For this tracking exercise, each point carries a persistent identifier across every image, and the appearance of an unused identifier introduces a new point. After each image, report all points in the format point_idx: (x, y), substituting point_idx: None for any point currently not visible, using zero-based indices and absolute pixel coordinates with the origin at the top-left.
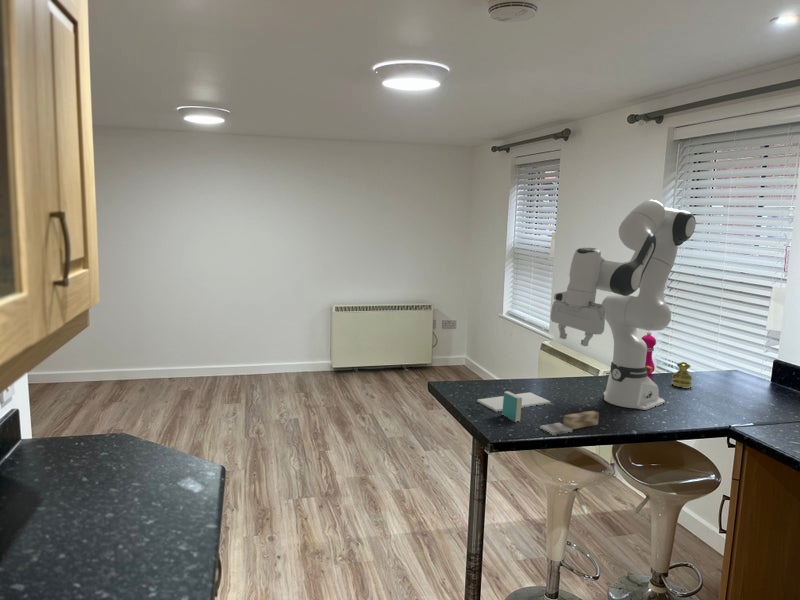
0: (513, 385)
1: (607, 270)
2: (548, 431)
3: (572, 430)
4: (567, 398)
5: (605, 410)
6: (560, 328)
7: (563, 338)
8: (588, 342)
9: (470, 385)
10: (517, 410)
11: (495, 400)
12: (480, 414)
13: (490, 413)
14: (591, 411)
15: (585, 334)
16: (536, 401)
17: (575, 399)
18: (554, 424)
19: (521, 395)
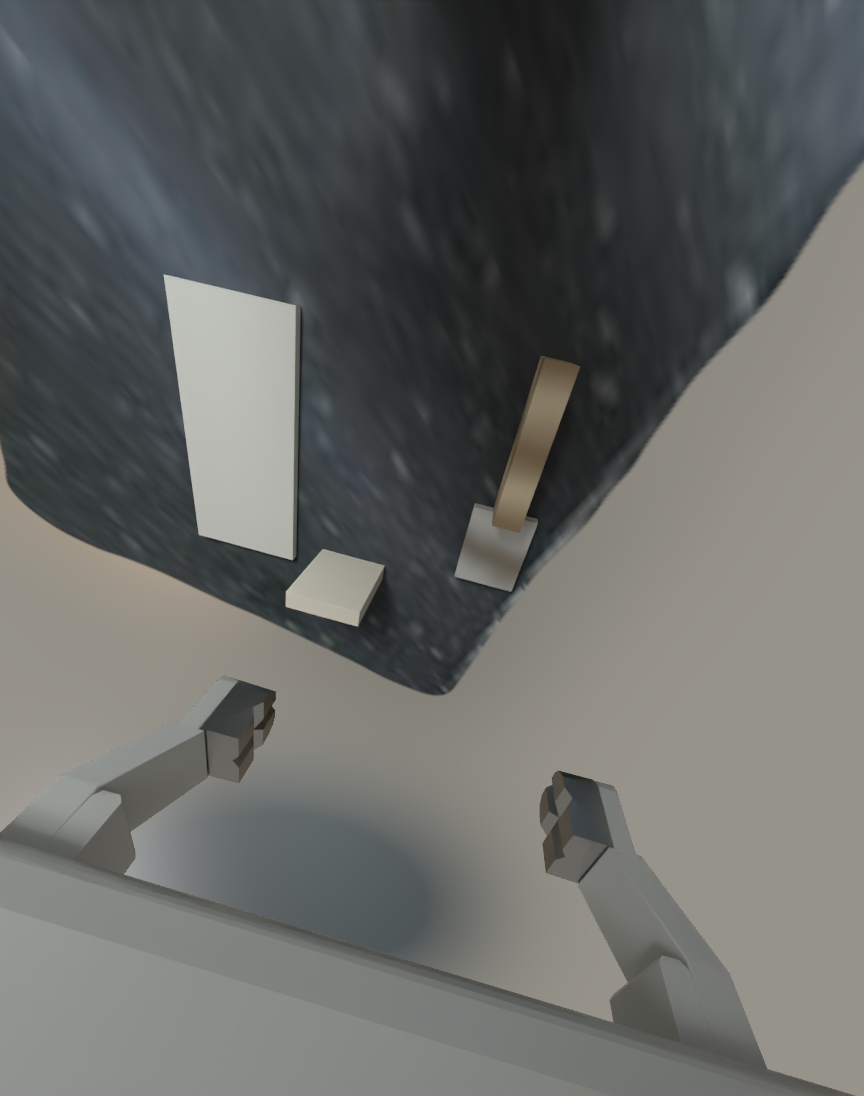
0: (39, 223)
1: None
2: (491, 584)
3: (537, 521)
4: (271, 114)
5: (507, 84)
6: (133, 825)
7: (271, 722)
8: (626, 827)
9: (39, 413)
10: (371, 596)
11: (220, 495)
12: None
13: None
14: (545, 383)
15: (627, 1015)
16: (274, 369)
17: (299, 74)
18: (475, 534)
19: (194, 358)
